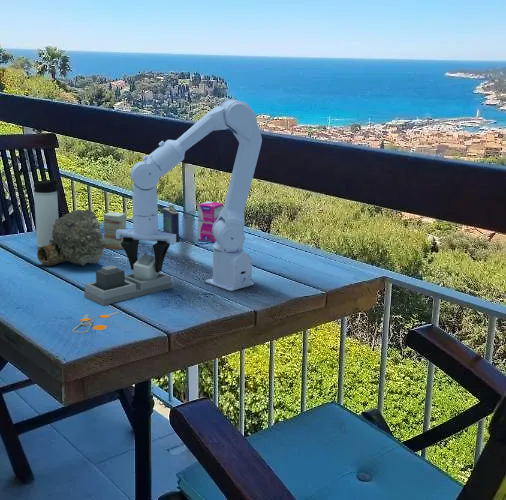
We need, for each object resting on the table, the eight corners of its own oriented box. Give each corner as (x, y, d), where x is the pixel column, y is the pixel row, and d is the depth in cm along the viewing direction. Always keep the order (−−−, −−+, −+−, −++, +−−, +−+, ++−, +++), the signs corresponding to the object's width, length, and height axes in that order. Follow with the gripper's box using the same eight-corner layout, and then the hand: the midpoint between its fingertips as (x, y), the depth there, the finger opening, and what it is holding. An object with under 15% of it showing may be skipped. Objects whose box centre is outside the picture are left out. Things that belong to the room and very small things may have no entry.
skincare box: (103, 248, 195) (102, 214, 192) (111, 244, 199) (110, 211, 196) (119, 250, 193) (118, 215, 191) (127, 246, 197) (126, 213, 195)
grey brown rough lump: (106, 199, 178) (49, 193, 169) (113, 247, 171) (54, 243, 163) (84, 234, 191) (30, 230, 183) (90, 280, 185) (34, 278, 177)
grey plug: (158, 275, 163) (158, 255, 159) (149, 286, 159) (148, 265, 155) (143, 271, 164) (143, 251, 160) (133, 282, 159) (133, 261, 156)
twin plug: (125, 291, 154) (124, 267, 153) (106, 296, 151) (105, 271, 149) (115, 287, 157) (114, 263, 156) (96, 291, 154) (95, 267, 152)
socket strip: (172, 287, 162) (172, 275, 161) (103, 305, 149) (103, 292, 148) (152, 280, 167) (151, 268, 166) (84, 296, 154) (83, 284, 153)
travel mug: (57, 251, 190) (53, 181, 185) (34, 251, 190) (29, 180, 185) (64, 246, 196) (60, 177, 191) (41, 245, 196) (37, 177, 191)
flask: (161, 235, 211) (161, 202, 208) (170, 234, 212) (170, 201, 209) (172, 242, 203) (172, 207, 200) (181, 241, 204) (181, 207, 202)
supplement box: (197, 240, 206) (197, 203, 203) (207, 236, 211) (207, 200, 208) (213, 243, 203) (213, 206, 200) (223, 239, 208) (223, 202, 205)
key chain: (101, 336, 133) (101, 332, 133) (66, 333, 134) (65, 329, 134) (122, 313, 145) (122, 309, 145) (89, 311, 146) (89, 307, 146)
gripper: (180, 213, 158) (181, 268, 162) (124, 208, 162) (126, 262, 166) (169, 219, 152) (169, 276, 155) (110, 214, 156) (112, 270, 159)
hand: (146, 270), depth 160 cm, fingers open, 6 cm apart
